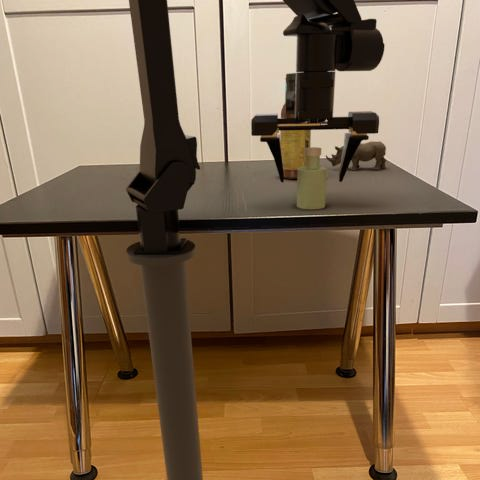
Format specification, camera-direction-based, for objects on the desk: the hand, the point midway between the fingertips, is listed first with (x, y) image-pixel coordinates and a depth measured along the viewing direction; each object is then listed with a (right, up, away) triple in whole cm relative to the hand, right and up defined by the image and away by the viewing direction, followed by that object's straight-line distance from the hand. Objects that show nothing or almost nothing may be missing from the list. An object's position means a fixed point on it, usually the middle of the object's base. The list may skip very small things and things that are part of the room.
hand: (311, 181), depth 77 cm
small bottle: (0, -4, +2) cm, 4 cm away
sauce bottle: (0, +8, +26) cm, 27 cm away
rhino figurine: (+15, +12, +33) cm, 38 cm away
